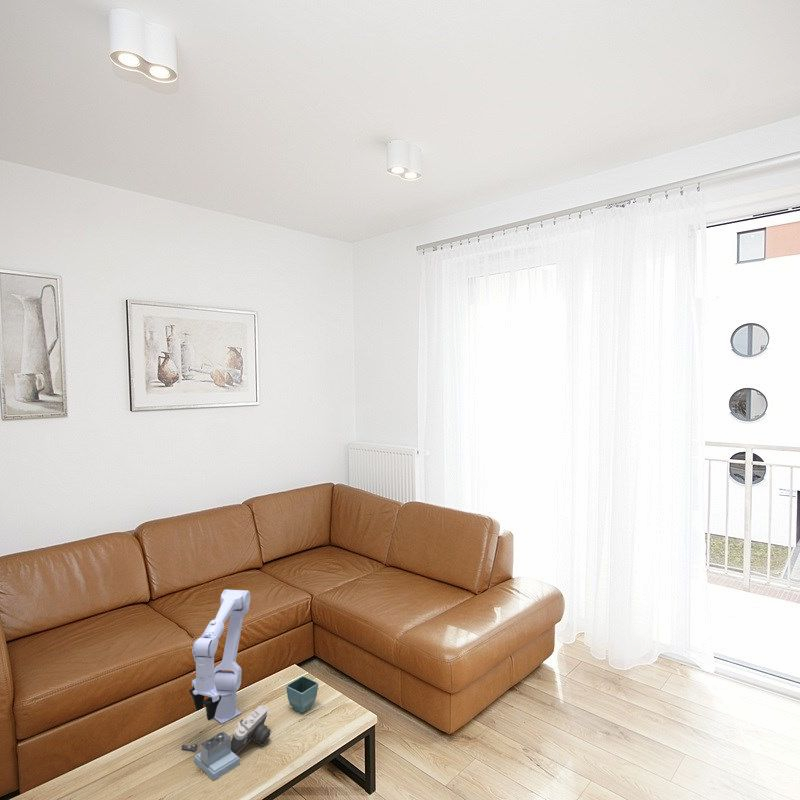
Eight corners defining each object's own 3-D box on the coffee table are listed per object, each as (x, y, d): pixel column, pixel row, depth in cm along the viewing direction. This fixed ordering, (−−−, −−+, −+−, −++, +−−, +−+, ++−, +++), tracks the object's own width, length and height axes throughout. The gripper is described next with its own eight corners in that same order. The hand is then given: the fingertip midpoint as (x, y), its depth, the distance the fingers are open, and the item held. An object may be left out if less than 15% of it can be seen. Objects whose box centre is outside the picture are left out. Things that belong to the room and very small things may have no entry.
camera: (223, 749, 168) (233, 725, 165) (255, 718, 182) (264, 696, 180) (244, 768, 165) (254, 743, 162) (274, 735, 179) (284, 712, 177)
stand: (194, 761, 164) (194, 754, 164) (219, 747, 170) (219, 739, 170) (213, 780, 156) (213, 772, 156) (239, 764, 163) (239, 756, 163)
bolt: (180, 750, 169) (180, 744, 169) (184, 746, 171) (184, 740, 171) (194, 752, 168) (193, 746, 168) (197, 748, 170) (197, 742, 170)
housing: (200, 759, 161) (200, 740, 161) (223, 746, 167) (223, 728, 167) (207, 766, 158) (207, 747, 158) (230, 752, 164) (230, 734, 164)
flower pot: (302, 697, 198) (302, 675, 198) (319, 706, 193) (319, 682, 193) (285, 709, 191) (285, 685, 191) (301, 718, 186) (301, 693, 185)
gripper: (183, 671, 173) (183, 710, 173) (204, 687, 164) (205, 729, 164) (202, 662, 178) (202, 701, 179) (224, 678, 169) (225, 718, 169)
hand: (205, 713), depth 172 cm, fingers open, 7 cm apart
